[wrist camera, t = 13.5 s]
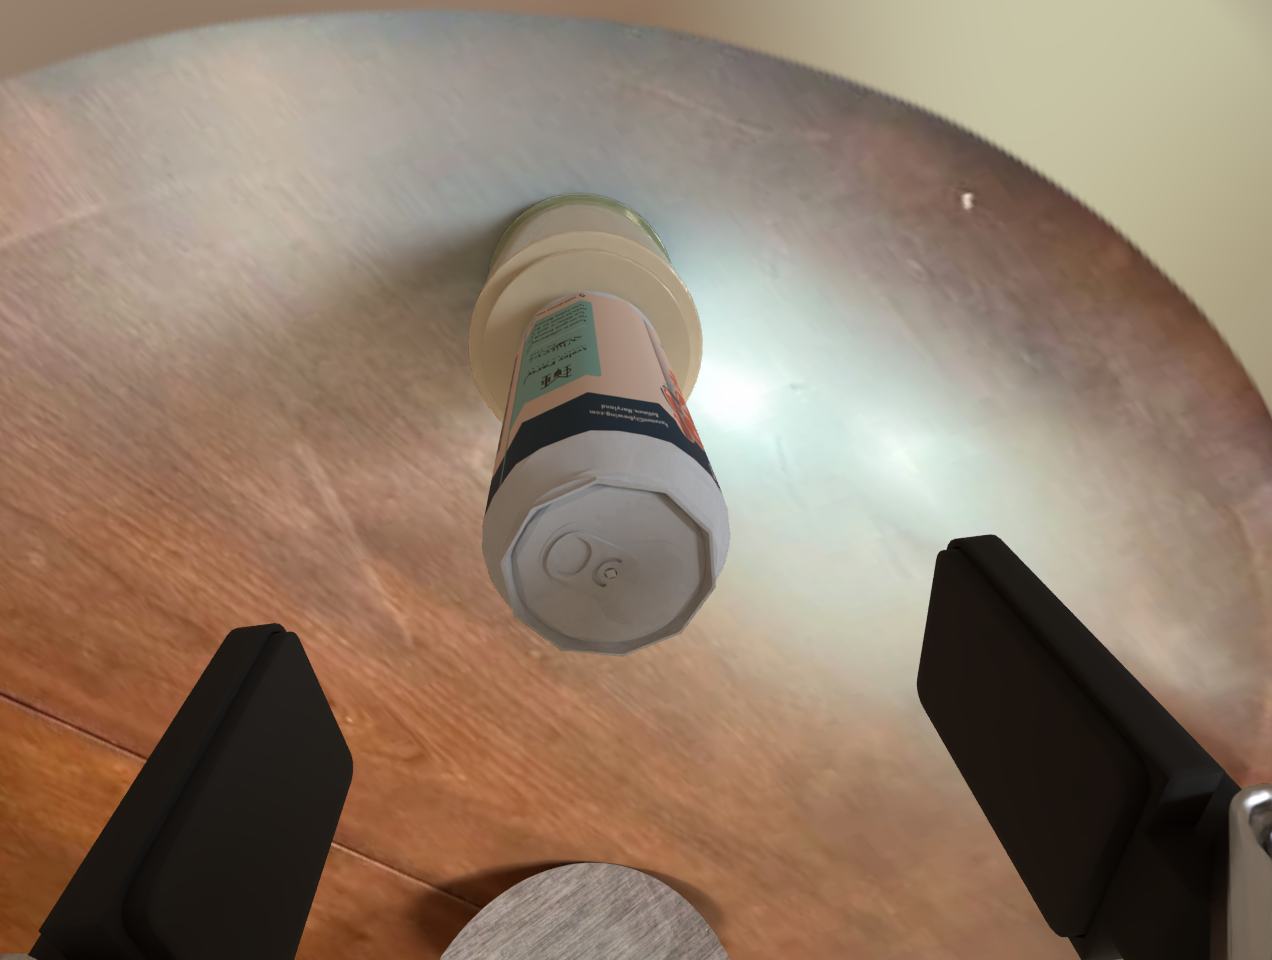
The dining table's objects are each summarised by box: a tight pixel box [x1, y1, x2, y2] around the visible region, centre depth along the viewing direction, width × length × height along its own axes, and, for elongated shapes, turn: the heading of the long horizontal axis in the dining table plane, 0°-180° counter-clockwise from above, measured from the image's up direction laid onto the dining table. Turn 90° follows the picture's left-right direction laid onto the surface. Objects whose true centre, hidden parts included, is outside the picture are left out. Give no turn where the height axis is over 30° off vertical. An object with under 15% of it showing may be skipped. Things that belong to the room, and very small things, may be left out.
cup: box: [469, 193, 703, 423], centre depth 27 cm, size 8×8×10 cm
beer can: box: [482, 291, 730, 656], centre depth 18 cm, size 5×5×12 cm
